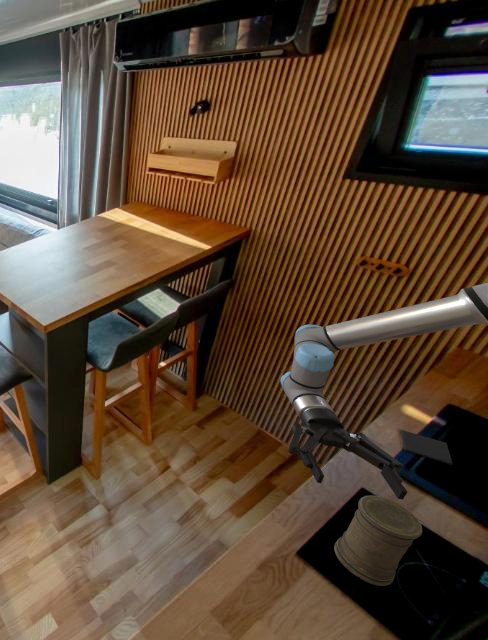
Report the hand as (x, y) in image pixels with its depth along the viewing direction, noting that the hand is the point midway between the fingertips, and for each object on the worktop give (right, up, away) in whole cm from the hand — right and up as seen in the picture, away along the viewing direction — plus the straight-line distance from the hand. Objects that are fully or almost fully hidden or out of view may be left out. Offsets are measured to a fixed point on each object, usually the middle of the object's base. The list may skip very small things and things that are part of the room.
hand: (360, 487), depth 81 cm
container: (-1, -17, -1) cm, 17 cm away
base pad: (+40, 0, +18) cm, 44 cm away
